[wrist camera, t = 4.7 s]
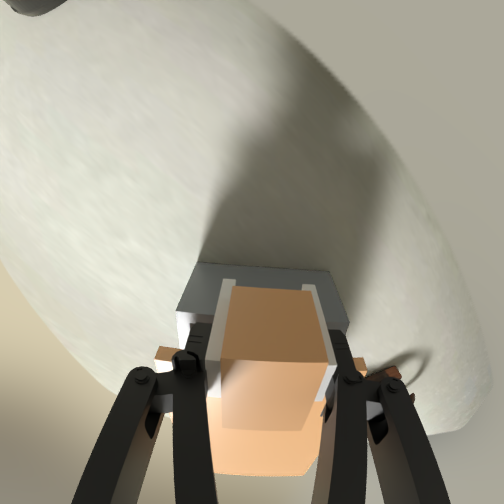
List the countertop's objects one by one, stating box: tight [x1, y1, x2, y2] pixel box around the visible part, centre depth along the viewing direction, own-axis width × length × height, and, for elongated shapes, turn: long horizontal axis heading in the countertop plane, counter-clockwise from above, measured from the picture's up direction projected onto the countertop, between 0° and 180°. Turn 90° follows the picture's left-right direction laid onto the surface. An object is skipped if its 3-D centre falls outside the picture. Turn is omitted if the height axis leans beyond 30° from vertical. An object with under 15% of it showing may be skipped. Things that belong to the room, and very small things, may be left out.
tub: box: [176, 262, 349, 349], centre depth 28 cm, size 20×13×8 cm, turn 176°
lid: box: [154, 286, 368, 476], centre depth 18 cm, size 25×13×6 cm, turn 176°
